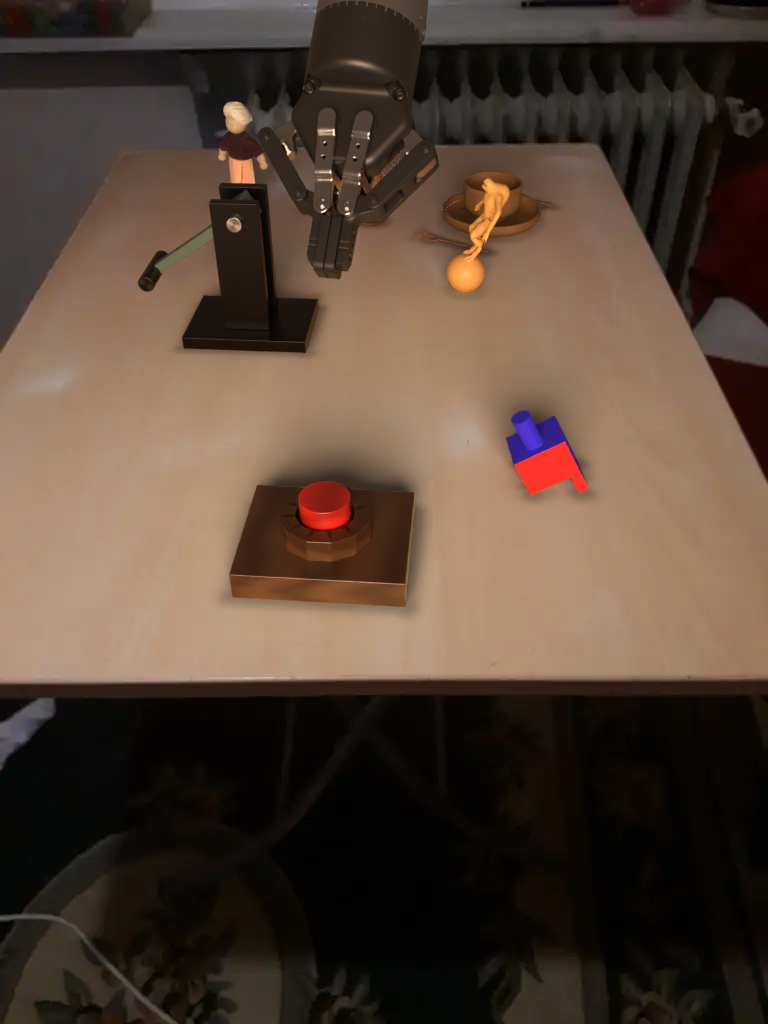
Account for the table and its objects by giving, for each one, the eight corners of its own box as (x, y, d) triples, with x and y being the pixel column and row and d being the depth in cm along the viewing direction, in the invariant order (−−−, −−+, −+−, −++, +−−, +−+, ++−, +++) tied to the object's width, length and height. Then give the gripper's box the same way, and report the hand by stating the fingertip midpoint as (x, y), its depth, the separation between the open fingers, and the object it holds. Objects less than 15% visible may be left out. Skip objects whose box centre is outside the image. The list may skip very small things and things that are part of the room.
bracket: (183, 348, 92) (160, 210, 83) (205, 305, 99) (186, 173, 90) (305, 353, 91) (295, 214, 82) (318, 309, 98) (310, 176, 89)
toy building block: (530, 482, 78) (491, 412, 73) (578, 461, 77) (541, 388, 72) (539, 510, 75) (499, 438, 70) (589, 488, 74) (551, 414, 69)
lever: (148, 298, 91) (131, 278, 89) (165, 270, 95) (148, 251, 94) (254, 228, 85) (237, 206, 84) (266, 202, 90) (250, 181, 89)
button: (296, 531, 65) (294, 511, 64) (304, 498, 68) (302, 479, 67) (347, 533, 65) (347, 514, 64) (353, 501, 68) (352, 481, 67)
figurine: (443, 273, 104) (447, 163, 97) (498, 272, 104) (506, 163, 97) (448, 308, 98) (452, 194, 90) (506, 307, 98) (515, 193, 90)
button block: (232, 597, 66) (225, 554, 63) (259, 506, 73) (254, 465, 71) (405, 607, 65) (405, 564, 62) (414, 514, 72) (415, 472, 70)
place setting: (504, 259, 107) (508, 208, 103) (354, 224, 115) (352, 175, 111) (563, 206, 119) (568, 159, 115) (423, 178, 127) (423, 133, 123)
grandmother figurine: (211, 208, 119) (198, 102, 111) (227, 197, 122) (215, 93, 114) (265, 217, 117) (256, 110, 109) (280, 206, 120) (271, 100, 112)
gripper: (261, -9, 63) (215, 245, 61) (458, 1, 60) (414, 265, 59) (291, 56, 70) (251, 283, 69) (468, 66, 67) (429, 302, 66)
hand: (326, 274), depth 64 cm, fingers closed
